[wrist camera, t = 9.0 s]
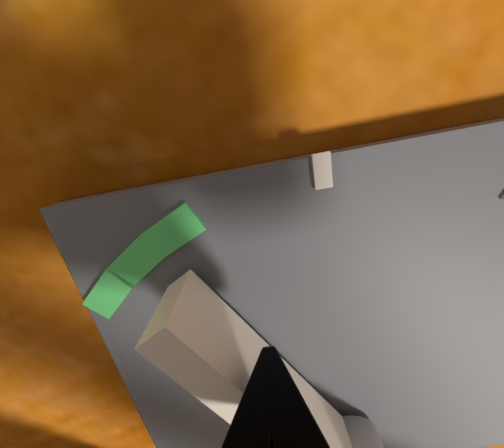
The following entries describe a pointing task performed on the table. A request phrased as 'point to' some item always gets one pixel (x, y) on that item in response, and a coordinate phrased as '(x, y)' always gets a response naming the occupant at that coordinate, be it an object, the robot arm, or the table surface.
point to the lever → (228, 359)
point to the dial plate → (320, 280)
